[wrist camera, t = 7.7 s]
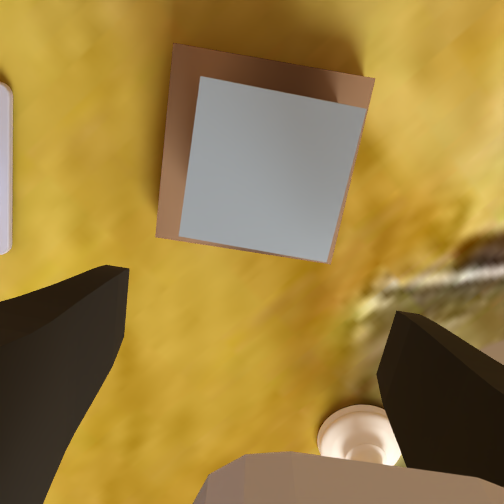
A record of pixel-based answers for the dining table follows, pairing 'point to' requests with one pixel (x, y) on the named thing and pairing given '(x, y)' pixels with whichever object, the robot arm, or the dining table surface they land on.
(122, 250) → the dining table surface
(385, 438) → the chess piece
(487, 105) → the dining table surface
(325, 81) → the walnut block
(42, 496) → the robot arm
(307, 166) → the slate cube
